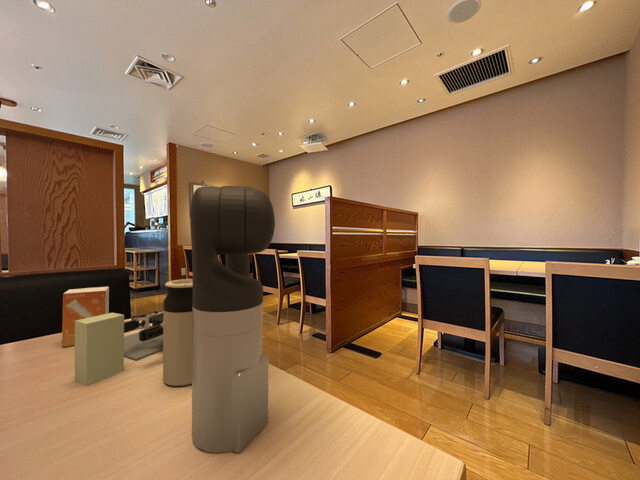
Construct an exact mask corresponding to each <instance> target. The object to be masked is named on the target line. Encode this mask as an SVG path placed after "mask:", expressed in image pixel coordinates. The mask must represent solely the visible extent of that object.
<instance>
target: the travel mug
mask: <svg viewBox="0 0 640 480" xmlns="http://www.w3.org/2000/svg"><path fill="white" fill-rule="evenodd" d="M164 285H165V287H166V289H167V294H166V296H165V297H164V299H163V311H162V312H163V350H162V354H163V355H162V361H163V362H162V368H163V369H162V370H163V371H162V382H163V383H164V384H165V385H166V384H167V385H168V386H174V387H179V386H183V387H184V386H189V385H192V313H193V282H192V278H184V279H175V280H170V281H167V282H166V283H164Z"/></svg>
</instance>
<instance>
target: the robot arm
mask: <svg viewBox="0 0 640 480" xmlns="http://www.w3.org/2000/svg"><path fill="white" fill-rule="evenodd" d="M192 194H193V195H192V196H191V201H190V208H189V225H190V240H191V258H192V259H191V261H192V264H191V265H192V266H191V267H192V275H191V276H192V278H191V279H192V282H193V313H192V384H191V441H192V443H193V444H194V446H195V447H197V448H198V449H200V450H202V451H205V452H209V453H222V452H224V453H225V452H228V451H229V452H231V451H232V452H234V453H237V454H238V453H240V452H241V451H243V450H244V448H245V447H246V446H248V444H249V443H250V442H251V441H252V440H253V439H254V438H255V436H257V434H258V433H260V431H261V430H262V429H263V428H264V427H265V426H266V425H267V424H268V423H269V372H270V371H269V368H270V367H269V365H270V364H269V362H270V361H269V356H268V355H267V354H263V352H264V351H263V348H264V346H263V345H264V344H263V342H264V341H263V339H264V337H263V335H264V333H263V331H264V326H263V325H264V315H263V314H264V287H263V284H262V282H261V281H260V280H258V279H255V278H253V277H250V272H251V271H250V267H251V266H250V264H251V263H250V256H249V255H252V254H258V253H262V252H263V251H265V250H267V249H268V247H269V246H270V245H271V242H272V240H273V237H274V235H275V229H276V219H275V212H274V207H273V203H272V201H271V199H270V197H269V196H268V194H266V192H264V191H263V190H260V189H256V188H253V187H252V186H251V187H250V186H242V185H241V186H238V185H236V186H235V185H223V186H215V185H214V186H210V185H209V186H207V185H205V186H204V185H203V186H202V185H201V186H199V187H198V188H196V189H195V190H194V191H193V193H192ZM219 255H225V265H224V264H223V263H222V262H221V261H220V259H219ZM130 317H131V320H128V321H124V334H125V333H130V332H133V331H136V330H137V331H138V330H140V331H138V332H139V340H140V341H142V342H144V341H147V340H150V339H153V338H155V337H158V336H159V335H160V337H163V311H161V312H159V311H157V310H153V311H151V312H146V313H143V314H138V315H133V316H130ZM140 321H141V322H140ZM150 324H151V325H150Z"/></svg>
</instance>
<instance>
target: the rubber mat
mask: <svg viewBox="0 0 640 480" xmlns="http://www.w3.org/2000/svg"><path fill="white" fill-rule="evenodd" d="M139 332H140V331H138V332H134V333H131V334H128V335H124V358H127V359H130V360H133V361H134V362H135V361H136V362H137V361H139V360H142V359H144V358H147V357H149V356H153V355H154V354H157V353H159V352H163V337H160V335H159V336H158V337H155V338H153V339H150V340H147V341H144V342H142V341H140V340H139Z"/></svg>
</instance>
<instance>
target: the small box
mask: <svg viewBox="0 0 640 480" xmlns="http://www.w3.org/2000/svg"><path fill="white" fill-rule="evenodd" d="M109 300H110V286H98V287H86V288H85V287H83V288H73V289H72V288H71V289H68V290H67V291H65V292H63V296H62V329H61V333H62V334H61V335H62V336H61V337H62V339H61V340H62V341H61V348H66V347H73V346H75V321H77V320H81V319H86V318H90V317H95V316H99V315H104V314H108V313H110V311H109V310H110V308H109V307H110V306H109V305H110V301H109Z"/></svg>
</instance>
